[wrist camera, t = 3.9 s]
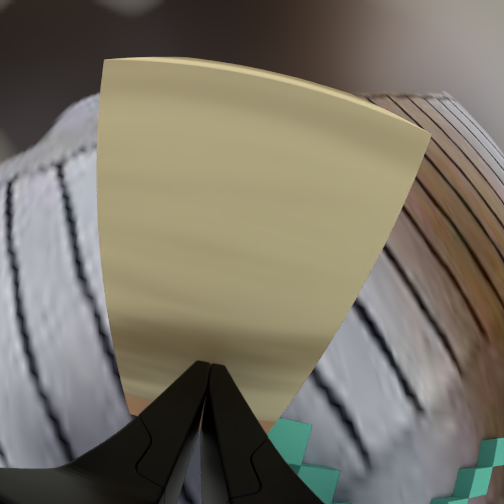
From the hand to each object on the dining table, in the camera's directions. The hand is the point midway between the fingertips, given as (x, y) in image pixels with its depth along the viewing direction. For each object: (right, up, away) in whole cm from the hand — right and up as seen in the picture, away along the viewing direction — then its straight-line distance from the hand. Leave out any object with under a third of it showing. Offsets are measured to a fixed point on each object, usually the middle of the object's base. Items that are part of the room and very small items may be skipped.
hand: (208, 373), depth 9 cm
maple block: (-1, -2, +5) cm, 6 cm away
